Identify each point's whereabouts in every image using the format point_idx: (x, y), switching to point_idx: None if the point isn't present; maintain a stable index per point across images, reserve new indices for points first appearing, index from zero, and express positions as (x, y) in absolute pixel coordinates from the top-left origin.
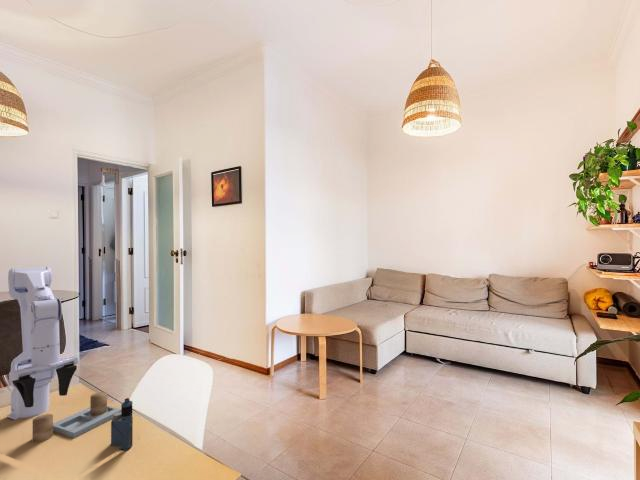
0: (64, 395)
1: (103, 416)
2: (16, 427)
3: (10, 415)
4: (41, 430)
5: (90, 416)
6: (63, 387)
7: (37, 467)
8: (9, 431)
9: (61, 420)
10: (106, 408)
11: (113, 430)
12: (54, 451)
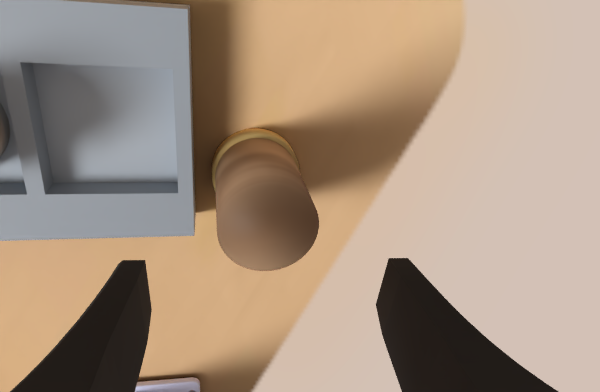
0: (144, 260)
1: None
2: (228, 373)
3: None
4: (292, 167)
5: (2, 137)
6: (128, 331)
7: None
8: (257, 364)
9: (138, 229)
10: None
11: None
12: (290, 17)
